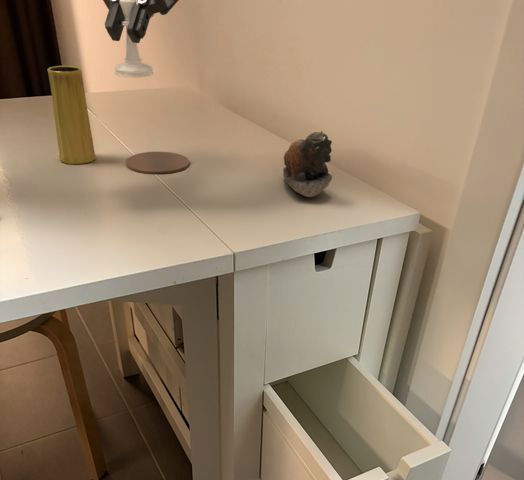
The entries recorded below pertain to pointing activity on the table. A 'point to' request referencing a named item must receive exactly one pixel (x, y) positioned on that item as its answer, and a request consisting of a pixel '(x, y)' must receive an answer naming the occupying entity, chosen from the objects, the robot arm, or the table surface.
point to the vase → (71, 115)
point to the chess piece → (131, 50)
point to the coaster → (157, 162)
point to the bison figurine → (308, 164)
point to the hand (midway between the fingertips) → (122, 36)
